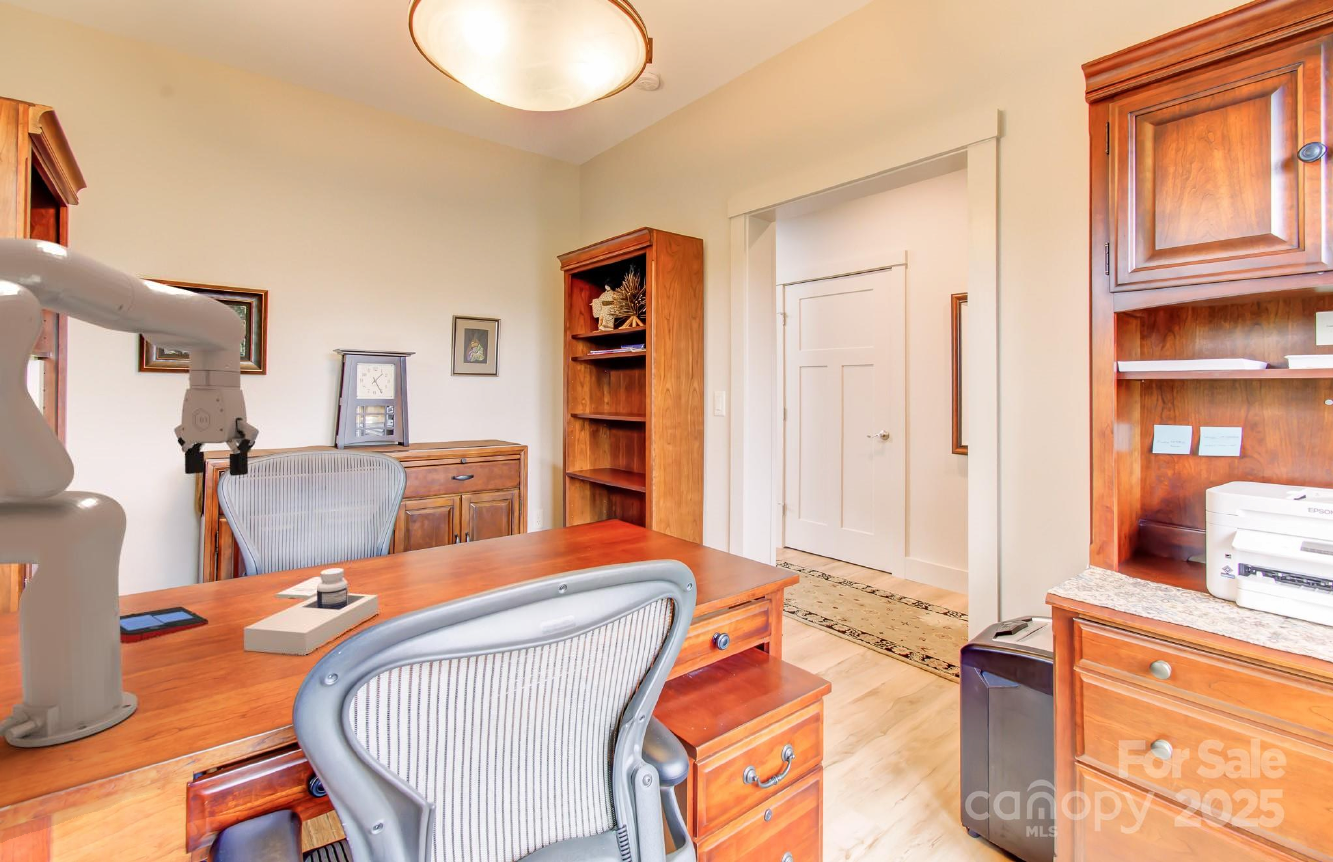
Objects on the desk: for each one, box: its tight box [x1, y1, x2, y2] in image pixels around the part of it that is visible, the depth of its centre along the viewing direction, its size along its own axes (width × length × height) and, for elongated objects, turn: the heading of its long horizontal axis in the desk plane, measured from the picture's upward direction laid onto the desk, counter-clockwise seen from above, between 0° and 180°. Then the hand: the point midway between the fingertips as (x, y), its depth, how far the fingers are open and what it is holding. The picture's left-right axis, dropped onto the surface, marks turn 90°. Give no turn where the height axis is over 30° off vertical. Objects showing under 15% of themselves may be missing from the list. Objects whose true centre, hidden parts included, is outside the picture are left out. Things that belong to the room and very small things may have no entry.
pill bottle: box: [317, 567, 349, 610], centre depth 118 cm, size 5×5×10 cm
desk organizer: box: [243, 592, 379, 656], centre depth 113 cm, size 20×12×4 cm, turn 172°
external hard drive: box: [274, 576, 346, 600], centre depth 137 cm, size 2×8×12 cm
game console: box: [120, 606, 209, 644], centre depth 115 cm, size 14×13×2 cm
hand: (216, 474), depth 110 cm, fingers open, 9 cm apart
